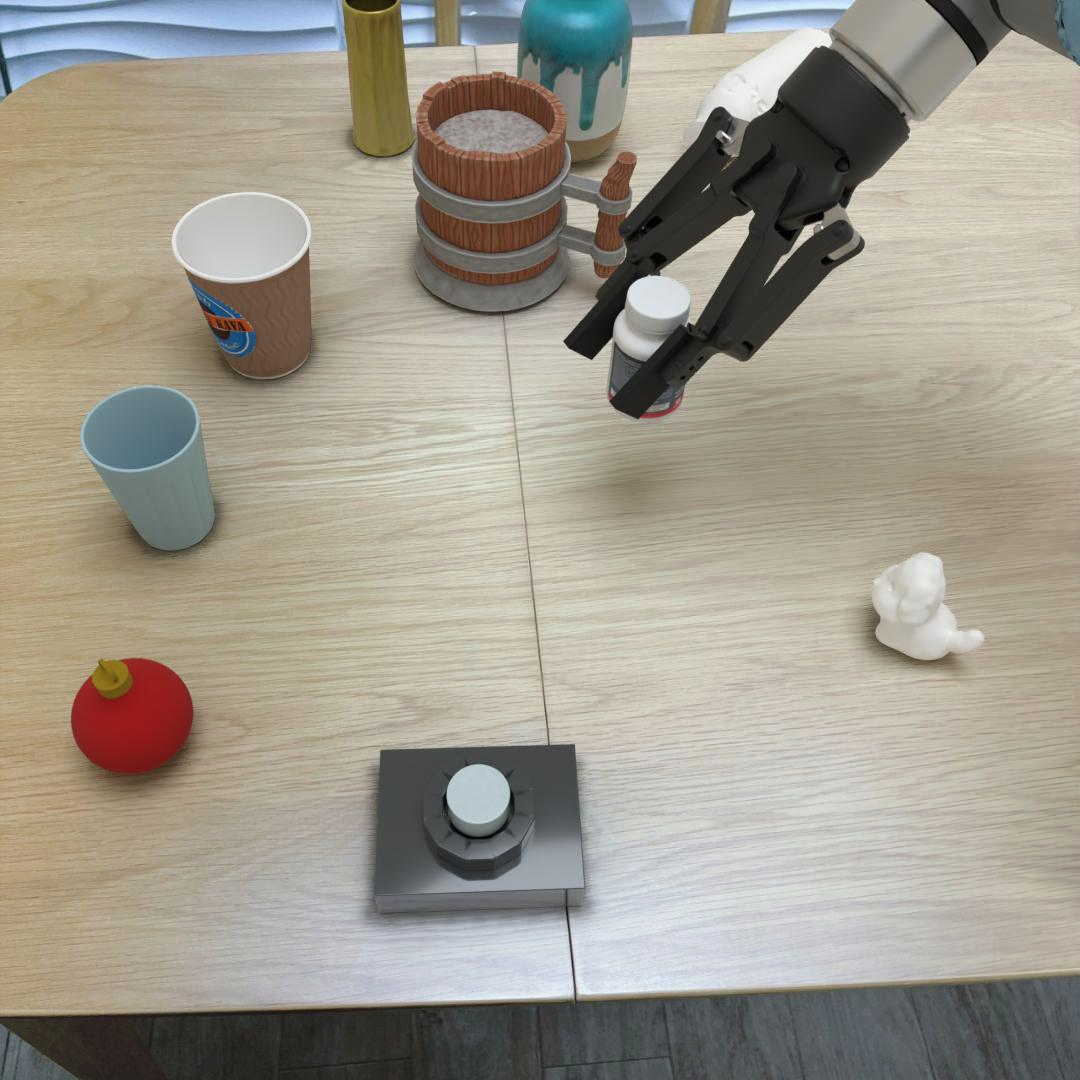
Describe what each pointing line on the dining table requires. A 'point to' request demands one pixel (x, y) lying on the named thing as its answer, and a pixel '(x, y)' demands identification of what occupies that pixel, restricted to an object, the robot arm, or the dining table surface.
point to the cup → (153, 463)
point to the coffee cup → (251, 278)
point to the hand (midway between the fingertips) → (600, 379)
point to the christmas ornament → (131, 715)
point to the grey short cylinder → (478, 800)
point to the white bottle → (757, 80)
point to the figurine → (919, 611)
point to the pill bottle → (647, 338)
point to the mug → (505, 194)
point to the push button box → (478, 862)
